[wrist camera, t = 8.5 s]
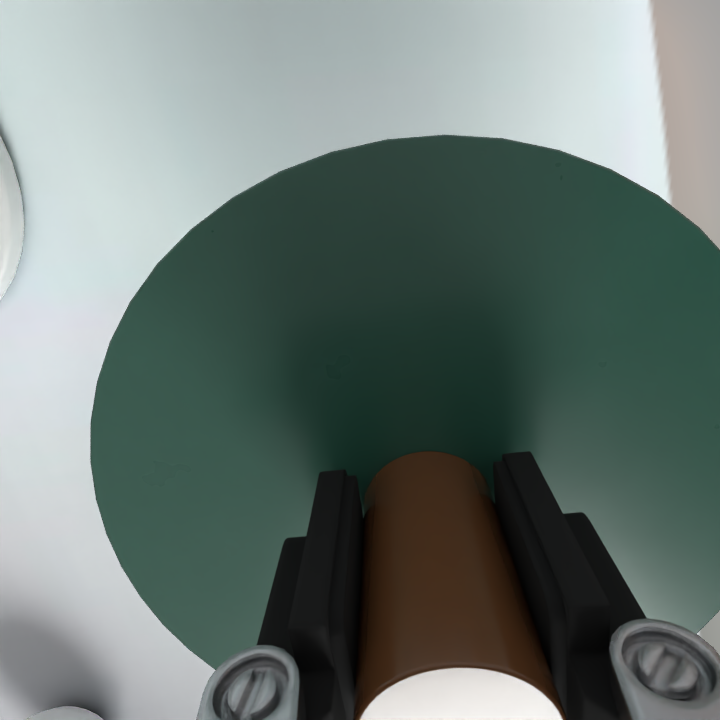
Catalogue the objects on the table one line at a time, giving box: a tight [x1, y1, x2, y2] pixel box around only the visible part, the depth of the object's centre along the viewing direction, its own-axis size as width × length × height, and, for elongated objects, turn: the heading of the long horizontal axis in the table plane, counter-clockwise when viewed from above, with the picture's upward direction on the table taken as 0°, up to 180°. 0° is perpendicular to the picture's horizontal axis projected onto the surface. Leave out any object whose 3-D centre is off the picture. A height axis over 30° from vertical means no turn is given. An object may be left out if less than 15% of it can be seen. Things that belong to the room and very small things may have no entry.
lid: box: [91, 135, 720, 720], centre depth 10 cm, size 15×15×6 cm
